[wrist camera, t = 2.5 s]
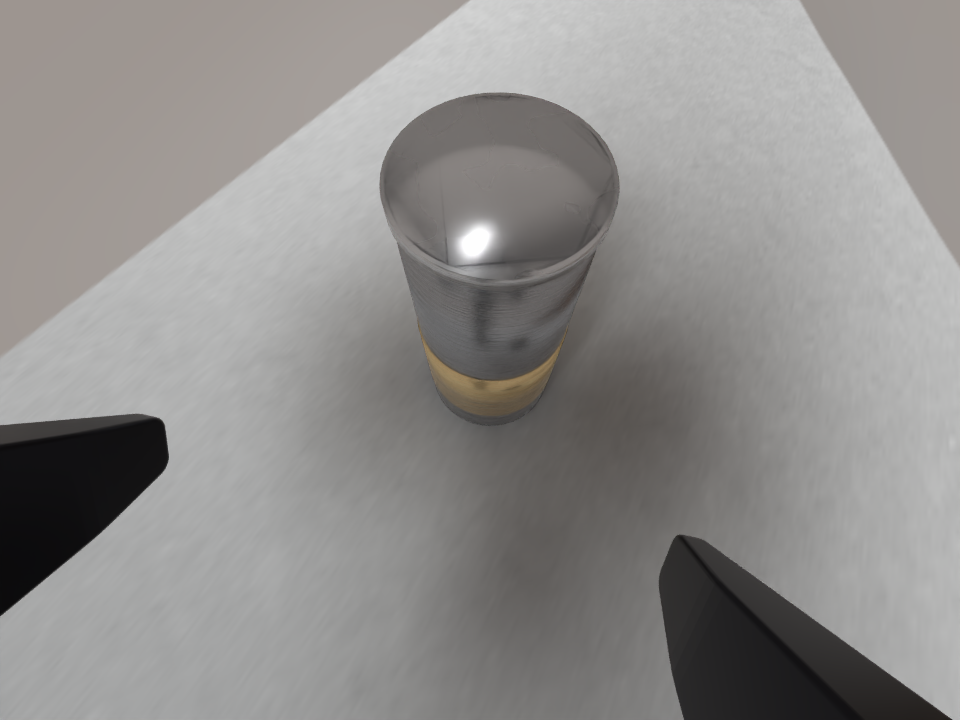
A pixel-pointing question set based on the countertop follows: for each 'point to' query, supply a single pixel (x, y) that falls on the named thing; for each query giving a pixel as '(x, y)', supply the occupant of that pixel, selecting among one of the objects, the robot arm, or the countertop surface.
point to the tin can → (496, 240)
